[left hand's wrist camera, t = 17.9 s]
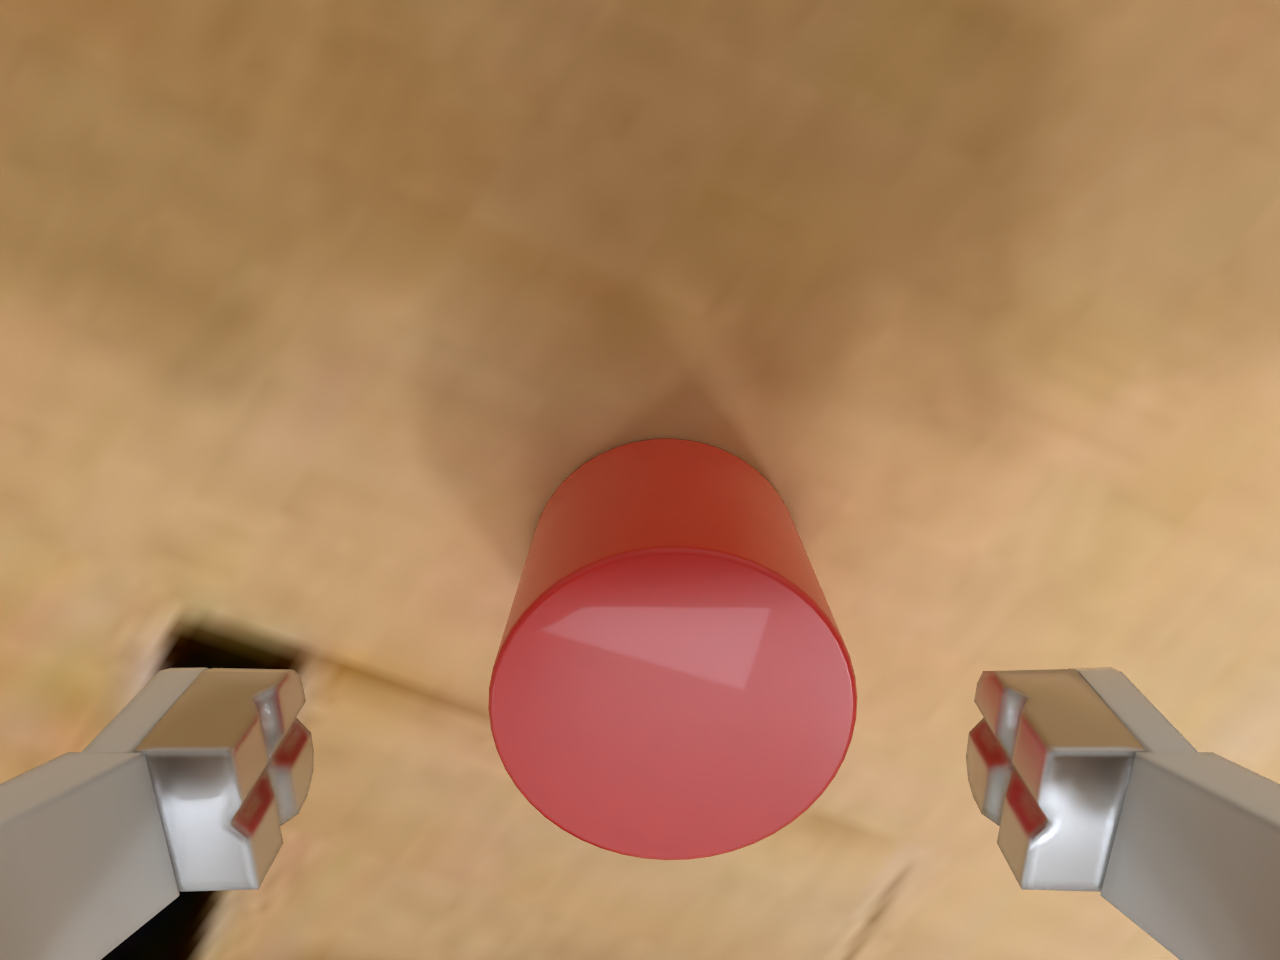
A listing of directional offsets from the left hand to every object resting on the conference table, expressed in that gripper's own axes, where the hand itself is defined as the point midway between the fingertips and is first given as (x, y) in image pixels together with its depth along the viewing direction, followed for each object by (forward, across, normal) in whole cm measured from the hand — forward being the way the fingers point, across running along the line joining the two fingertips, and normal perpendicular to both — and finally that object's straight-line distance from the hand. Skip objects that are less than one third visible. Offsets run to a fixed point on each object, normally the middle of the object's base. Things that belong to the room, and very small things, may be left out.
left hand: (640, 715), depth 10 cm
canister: (+5, 0, 0) cm, 5 cm away
